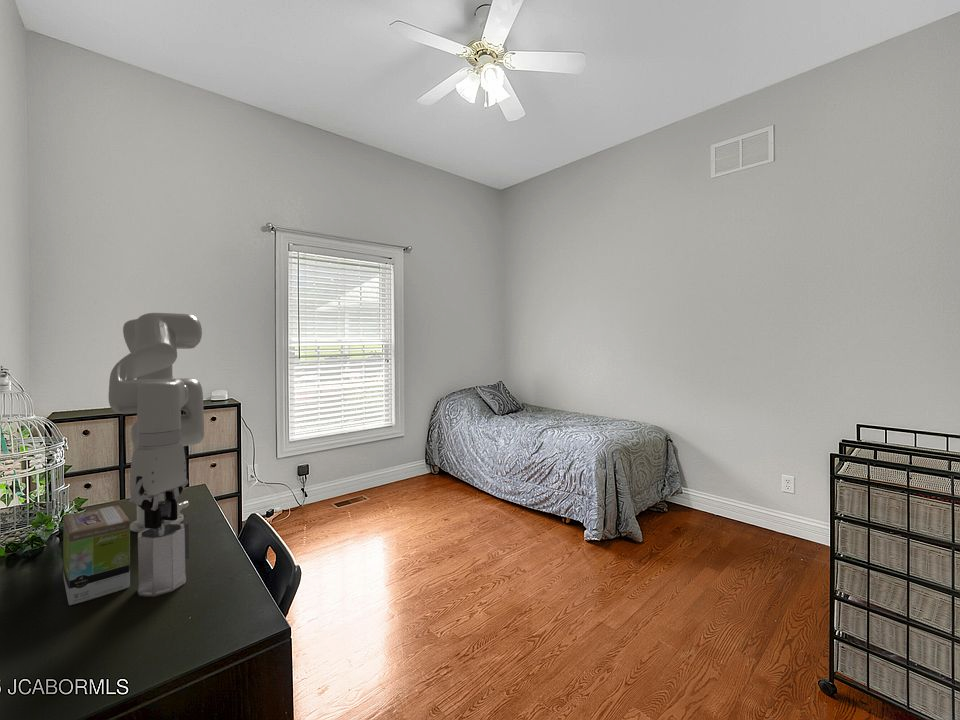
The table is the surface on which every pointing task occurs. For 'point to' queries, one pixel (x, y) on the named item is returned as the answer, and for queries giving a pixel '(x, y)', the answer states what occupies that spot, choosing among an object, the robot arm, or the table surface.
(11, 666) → the table surface
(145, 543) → the carafe
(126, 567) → the tea box
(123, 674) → the table surface
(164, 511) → the plunger
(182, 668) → the table surface
